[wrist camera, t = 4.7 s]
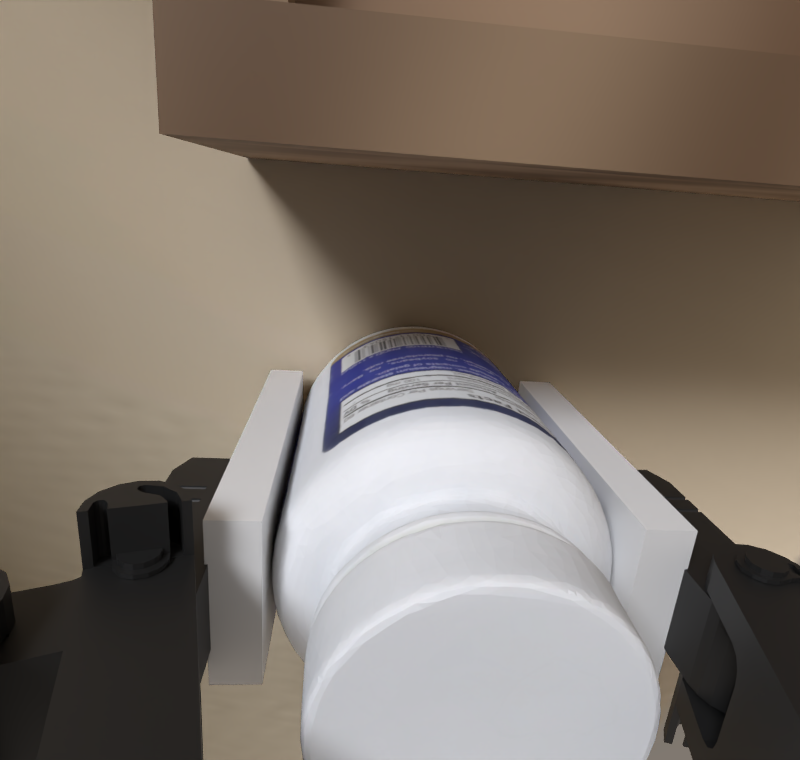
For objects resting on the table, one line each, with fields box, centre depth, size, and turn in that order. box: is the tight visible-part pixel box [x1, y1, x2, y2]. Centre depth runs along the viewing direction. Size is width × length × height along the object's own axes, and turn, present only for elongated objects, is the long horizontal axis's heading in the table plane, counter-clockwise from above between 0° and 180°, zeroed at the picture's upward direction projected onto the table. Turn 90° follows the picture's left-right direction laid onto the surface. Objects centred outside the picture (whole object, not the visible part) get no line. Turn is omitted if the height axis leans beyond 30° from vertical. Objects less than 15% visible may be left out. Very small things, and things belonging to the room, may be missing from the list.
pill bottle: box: [272, 327, 661, 760], centre depth 10 cm, size 5×5×9 cm
